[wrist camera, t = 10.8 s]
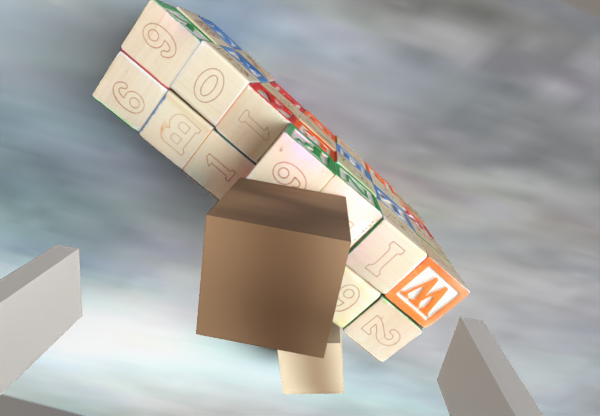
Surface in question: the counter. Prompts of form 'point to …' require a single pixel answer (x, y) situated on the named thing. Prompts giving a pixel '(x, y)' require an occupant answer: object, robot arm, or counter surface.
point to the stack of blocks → (278, 165)
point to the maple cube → (314, 369)
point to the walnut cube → (273, 266)
